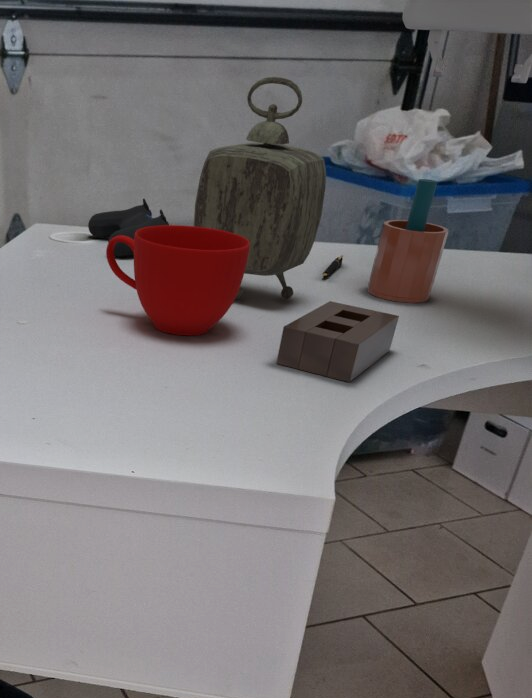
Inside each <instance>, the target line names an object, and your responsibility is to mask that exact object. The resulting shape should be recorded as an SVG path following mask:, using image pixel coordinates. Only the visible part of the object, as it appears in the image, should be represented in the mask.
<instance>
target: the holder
mask: <svg viewBox="0 0 532 698" xmlns="http://www.w3.org/2000/svg"><path fill="white" fill-rule="evenodd" d="M399 318H400V316H399V315H397V314H392V313H387V312H383V311H378V310H374V309H368V308H364V307H359V306H355V305H350V304H346V303H341V302H336V301H331V300H329V301H328V302H325V303H324V304H322V305H320V306H318V307H316V308H315V309H313V310H311V311H309V312H308V313H306V314H304V315H302V316H300V317H298V318H297V319H295V320H293V321H290V323H287V324H285V325H284V326H283V328H282V333H281V337H280V343H279V349H278V354H277V358H276V364H277V365H280V366H284V367H288V368H292V369H296V370H300V371H304V372H307V373H310V374H311V373H312V374H316V375H320V376H324V377H327V378H331V379H335V380H339V381H342V382H347V383H351V382H352V381H353V380H354V379H356V378H357V377H358V376H359V375H360V374H362V373H363V372H364V371H365V370H367V369H368V368H370V367H371V366H372V365H373V364H374V363H376V362H377V361H379V360H380V359H381V358H382V357H383V356H385V355H386V354H388V353H389V352H390V350H391V347H392V343H393V340H394V336H395V332H396V328H397V325H398V321H399Z"/></svg>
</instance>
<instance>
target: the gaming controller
mask: <svg viewBox="0 0 532 698" xmlns="http://www.w3.org/2000/svg"><path fill="white" fill-rule="evenodd" d="M152 216H153V213H152V211H151V209H150V205H148V203H147V200H146V198H142V204H140V205H135V206H133V207H130V208H127V209H122V210H112V211H103V212H98V213H94V214H93V215H91V217H90V219H89V220H88V224H87V227H88V231H89V233H90V234H91V235H92V236H93V238H96V239H108V238H109V239H108V242H107V244H108V243H109V242H110V240H111V239H112V238H114V237H116V236H119V235H124V236H128V237H130V238H132V239H133V240H134V237H135V232H136V231H137V230H139V229H141V228H145V227H150V226H161V225H170V223H169V221H167V217H166V216H165V213H164V211H163V210H162V209H159V216H155V217H152ZM132 255H133V256H134V253H133V251H132V249H131V248H130V247H129V246H128V245H127V244H125V243H123V242H117V243H116V244H115V246H114V257H118V258H123V257H129V256H132Z"/></svg>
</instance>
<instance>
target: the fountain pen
mask: <svg viewBox="0 0 532 698" xmlns="http://www.w3.org/2000/svg"><path fill="white" fill-rule="evenodd" d="M343 257H344V255H340V256H338V257H335V259H333V261H331V263H330V264H329V265H328V266H327V268H326V269H325V270H324V271H323V272H322V276H323V277H324V278H327V277H328V276H329V275H330V274H332V273H333V272H334V271H335V270H336V269H338V268H339V267H340V266H341V265H342V263H343V261H344V258H343Z"/></svg>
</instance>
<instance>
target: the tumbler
mask: <svg viewBox="0 0 532 698" xmlns="http://www.w3.org/2000/svg"><path fill="white" fill-rule="evenodd" d="M407 222H408V219H390V220H386V221H385V220H384V221H383V224H382V228H381V232H380V236H379V239H378V244H377V247H376V250H375V251H376V252H375V255H374V260H373V264H372V268H371V271H370V276H369V280H368V284H367V293H368V294H370V295H372V296H374V297H377V298H379V299H382V300H386V301H391V302H397V303H398V302H399V303H407V304H408V303H409V304H416V303H417V304H418V303H425V302H427V301H429V298H430V296H431V293H432V291H433V286H434V283H435V280H436V276H437V273H438V271H439V270H438V269H439V266H440V264H441V263H440V262H441V259H442V256H443V252H444V248H445V245H446V242H447V238H448V236H449V232H450V231H449V229H448V228H447V227H445V226H442V225H439V224H435V223H431V222H426V226H425V229H424V232H421V231H412V230H406V226H407Z"/></svg>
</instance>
